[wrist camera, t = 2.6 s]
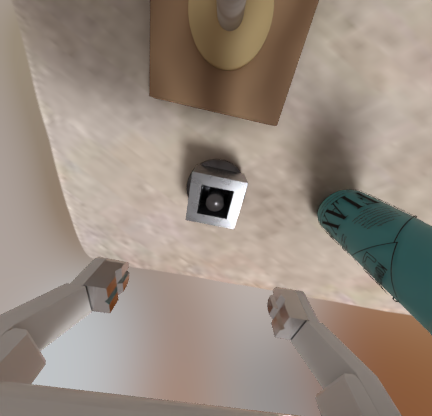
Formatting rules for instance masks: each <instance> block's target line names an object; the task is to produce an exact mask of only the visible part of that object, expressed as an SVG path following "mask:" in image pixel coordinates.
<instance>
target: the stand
mask: <svg viewBox="0 0 432 416" xmlns="http://www.w3.org/2000/svg"><path fill="white" fill-rule="evenodd" d="M201 165H205V166H210V167H215V168H219V169H224V170H229V171H233V172H238V173H241V172H240V170H239V169H238V168H237V167H236V166H235V165H233V164H232V163H230V162H228V161H225V160H220V159H212V160H208V161H205V162H203V163H201ZM191 177H192V173H191V175H190V177H189V179H188V183H187V193H188V197H189V192H190V184H191ZM229 192H230V190H225V189H220V188H215V187H210V186H206V185H204V186H203V192H202V197H201V200H205V201H206V206H207V208H208V209H209V210H211V211H219V210H221V209H222V207H223V205H224V204H225V205H226V203H227V199H228V196H229ZM245 193H246V192H245ZM244 197H245V195H244ZM243 200H244V198H243Z"/></svg>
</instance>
